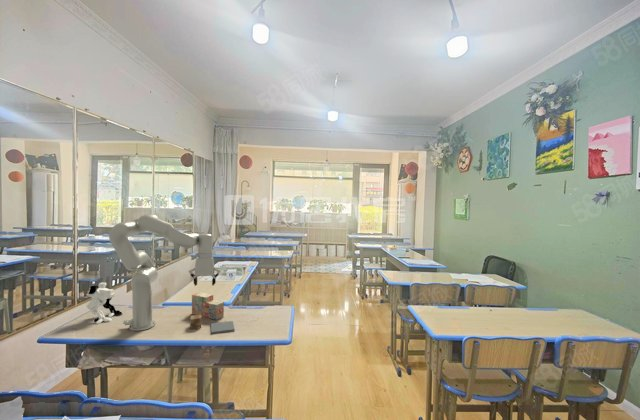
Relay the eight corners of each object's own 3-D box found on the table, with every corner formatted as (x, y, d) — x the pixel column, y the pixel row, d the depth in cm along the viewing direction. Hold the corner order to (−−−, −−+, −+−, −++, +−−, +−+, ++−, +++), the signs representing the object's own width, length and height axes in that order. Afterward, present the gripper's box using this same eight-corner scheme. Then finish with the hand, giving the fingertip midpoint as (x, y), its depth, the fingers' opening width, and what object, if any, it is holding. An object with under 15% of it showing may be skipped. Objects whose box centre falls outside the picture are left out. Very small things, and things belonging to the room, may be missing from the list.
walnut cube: (190, 329, 166) (190, 319, 166) (190, 325, 171) (190, 315, 171) (201, 327, 168) (201, 318, 168) (201, 324, 173) (201, 314, 173)
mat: (211, 333, 160) (211, 332, 160) (211, 325, 171) (211, 323, 171) (234, 330, 164) (234, 329, 164) (232, 322, 176) (232, 320, 176)
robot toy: (105, 324, 170) (104, 289, 170) (80, 324, 170) (79, 289, 170) (126, 312, 189) (126, 280, 189) (104, 312, 189) (103, 280, 188)
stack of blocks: (224, 317, 184) (224, 297, 184) (216, 320, 179) (216, 299, 178) (199, 310, 194) (199, 291, 194) (191, 313, 189) (191, 294, 188)
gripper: (187, 256, 167) (186, 287, 168) (219, 256, 170) (218, 286, 170) (191, 254, 175) (190, 283, 175) (221, 254, 177) (221, 283, 178)
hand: (204, 285), depth 173 cm, fingers open, 9 cm apart
